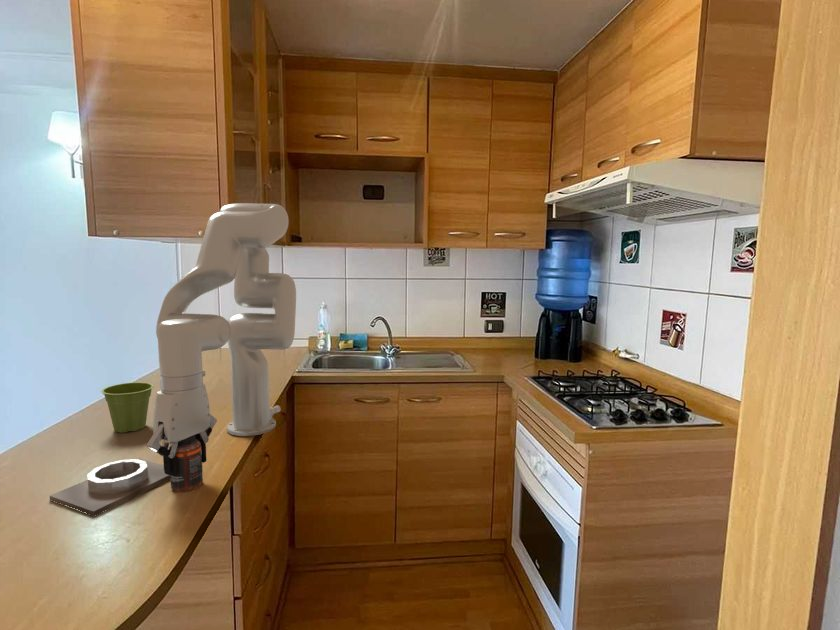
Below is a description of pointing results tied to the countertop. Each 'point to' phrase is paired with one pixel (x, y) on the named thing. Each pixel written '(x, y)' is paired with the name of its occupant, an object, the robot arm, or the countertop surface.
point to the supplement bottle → (188, 465)
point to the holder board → (96, 504)
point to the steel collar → (113, 486)
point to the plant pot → (128, 405)
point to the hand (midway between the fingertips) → (186, 466)
